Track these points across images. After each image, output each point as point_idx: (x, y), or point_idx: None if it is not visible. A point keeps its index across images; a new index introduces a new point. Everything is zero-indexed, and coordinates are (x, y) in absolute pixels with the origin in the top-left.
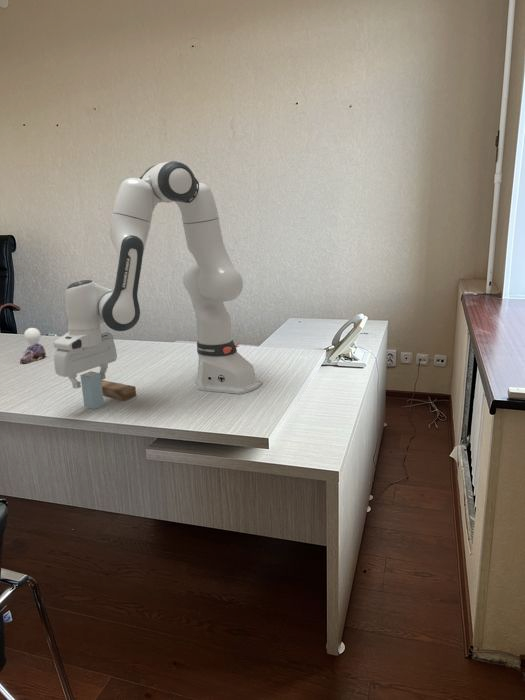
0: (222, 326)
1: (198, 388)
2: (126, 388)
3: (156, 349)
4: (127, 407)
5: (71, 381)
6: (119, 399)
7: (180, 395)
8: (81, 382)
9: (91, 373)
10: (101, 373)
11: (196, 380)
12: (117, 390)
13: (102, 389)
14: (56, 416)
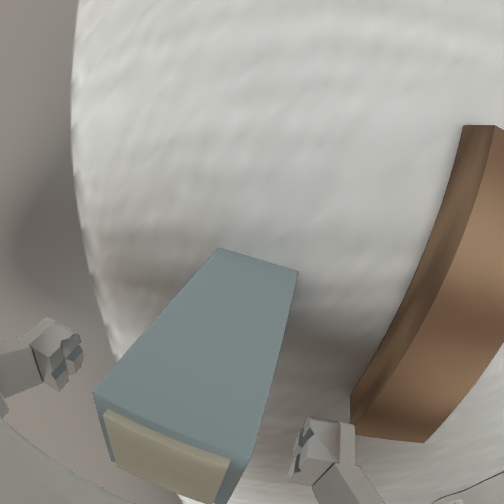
0: None
1: (442, 500)
2: (398, 427)
3: None
4: (272, 424)
5: (10, 341)
6: (365, 371)
7: (400, 491)
8: (134, 343)
9: (163, 475)
10: (314, 476)
11: (492, 486)
12: (372, 402)
13: (433, 281)
14: (83, 181)
